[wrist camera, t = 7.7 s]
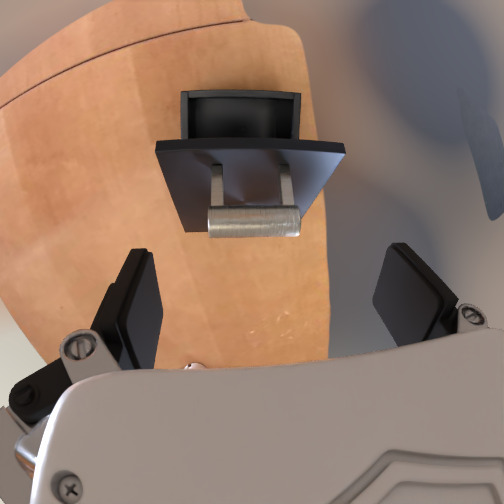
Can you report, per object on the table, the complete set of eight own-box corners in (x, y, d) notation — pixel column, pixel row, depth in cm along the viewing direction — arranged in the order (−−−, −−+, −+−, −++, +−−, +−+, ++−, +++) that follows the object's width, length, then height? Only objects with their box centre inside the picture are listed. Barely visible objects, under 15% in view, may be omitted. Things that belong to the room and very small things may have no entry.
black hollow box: (190, 94, 30) (180, 91, 22) (282, 95, 31) (301, 93, 23) (192, 199, 36) (185, 226, 29) (277, 197, 37) (292, 224, 30)
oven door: (156, 140, 15) (147, 227, 13) (343, 142, 16) (360, 223, 15) (185, 224, 28) (184, 276, 27) (293, 222, 30) (297, 273, 28)
